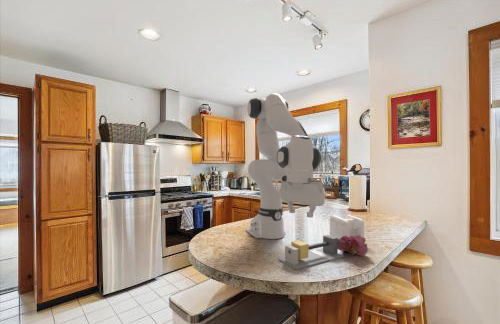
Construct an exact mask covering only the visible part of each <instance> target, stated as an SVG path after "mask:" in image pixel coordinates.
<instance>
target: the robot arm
mask: <svg viewBox="0 0 500 324" xmlns="http://www.w3.org/2000/svg"><path fill="white" fill-rule="evenodd" d="M246 109H247V110H246V111H247V114H248V117H249V118H250V119H255V120H257V122H256V142H257V149H258V151H259V153H260V154H261V155H263V156H264V157H266V158H267V159H264V158H263V159H261V158H260V159H254V160H251V161H250V162H249V164H248V166H247V174H248V176H249V178H250V179H251V180H253V181H254V183H255V184H256V186H257V187H258V190H259V196H260V197H259V198H260V202H259V203H260V206H259V207H258V208H257V211H258V213H257V215H255V216H254V217H253V218H252V219H251V220H250V227H247V228H246V229H245V231H246V232H247V233H248V234H250V235H251V236H253V237H254V238H255V239H266V240H267V239H268V240H269V239H270V240H276V239H281V238H282V239H283V238H285V234H286V231H285V226H284V223H285V222H284V218H283V213H284V211H283V205H282V204H283V201H286V202H287V206H288V209H289V213H290V214H295V213H296V208H295V207H294V204H295V203H298V204H303V205H308V208H309V209H308V211H307V212H306V217H307V218H313V217H314V212H315V210H316V209H317V207H322V206H324V204H325V202H326V201H325V198H326V197H325V191H324V182H322V181H321V180H320V179H319V178H314V170H316V169H317V168H318V167H319V166H320V164H321V162H322V155H321V152H320V150H319V149H318V147H316V145H314V143H313V139H312V137H310V136H309V135H308V134H307V131H306V130H305V128H304V127H303V125H302V123H301V122H300V121H299V120H297V119H296V118H295V117H294V116H293V115H292V113H291V112H290V110H289V103H288V101H287V99H284V98H283V97H282V96H281V95H280V94H279V93H271V94H268V95H267V96H266V97H260V98H259V97H255V98H251V99H250V100H249V101H248V103H247V107H246ZM278 133H282V134H285V135H288V136H290V140H289V142H288V143H287V144H285V145H284V146H281V147H280V143H279V139H278ZM274 181H276V182H279V181H280V182H281V184H280V189H279V188H277V187H275V185H274V183H273V182H274Z"/></svg>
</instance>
